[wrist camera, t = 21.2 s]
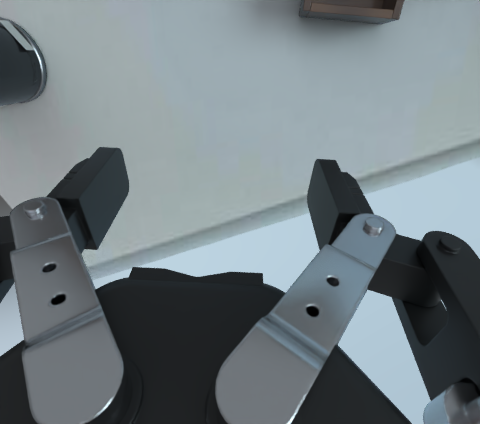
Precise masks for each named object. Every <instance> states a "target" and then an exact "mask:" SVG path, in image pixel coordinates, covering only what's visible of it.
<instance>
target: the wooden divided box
mask: <svg viewBox="0 0 480 424" xmlns="http://www.w3.org/2000/svg"><path fill="white" fill-rule="evenodd" d="M403 4H404V0H301V4H300V11H299V16H301V17H312V18H323V19H333V20H344V21H355V22H366V23H376V24H384V23H388V22H391V21H395V20H399V17H400V14H401V10H402V7H403Z"/></svg>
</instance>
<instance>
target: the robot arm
mask: <svg viewBox="0 0 480 424" xmlns="http://www.w3.org/2000/svg"><path fill="white" fill-rule="evenodd" d="M46 78H47V73H46V66H45V62H44V59H43V56H42V54H41V52H40V50H39V48H38V46H37V44H36V43H35V41H34V40H33V39H32V38H31V36H30V35H29V34H28V33H27V32H26V31H25V30H24V29H22V28H21V27H20V26H19V25H17V24H16V23H14V22H12V21H10V20H8V19H5V18H1V17H0V106H3V105H9V104H14V103H24V102H29V101H32V100H34V99H36V98H37V97H38V96H40V94H41V93H42V92H43V90H44V88H45V84H46ZM128 192H129V180H128V175H127V171H126V167H125V162H124V158H123V154H122V151H121V149H120V148H107V147H99V148H98V149H97V150H96V152H95V153H94V154H93V155H92V156H91V157H90V158H87V159H85V160H83V161H81V162H79V163H78V164H76V165H75V166H74V167H73V168H72V169H71V170H70V171H69V173H68V174H67V175H66V176H65V177H64V179H62V180H61V181H60V182H59V183H58V185H57V186H56V187H55V188H54V189H53V190H52V191H51V192H50V193H49V194H48V195H47V197H39V198H34V199H30V200H27V201H25V202H23V203H21V204H19V205H17V206H16V207H15V208H14V209H13V210H12V211H11V213H10V216H4V217H0V303H1V301H2V299H3V298H4V297H5V295H6V293H7V292H8V291H9V289H10V288H11V286H12V285H13V284H14V282H15V287H16V293H17V299H18V305H19V311H20V316H21V323H22V328H23V334H24V340H23V341H21V342H20V343H19V344H17V345H16V346H14V347H13V348H11V349H10V350H9V351H7V352H6V353H4V354H3V355H2V356H0V424H412V423H411V422H410V421H409V420H408V419H407V418H406V417H405V416H404V415H403V414H402V413H401V411H400V410H399V409H398V408H397V407H396V406H395V405H394V404H393V403H392V402H391V401H390V400H389V399H388V398H387V397H386V396H385V395H384V393H383V392H382V391H380V389H379V388H378V387H377V386H376V385H375V384H374V383H373V382H372V381H371V380H370V379H369V378H368V377H367V376H366V375H365V373H364V372H363V371H362V370H361V369H360V368H359V367H358V366H357V365H356V364H355V363H354V362H353V361H352V360H351V359H350V358H349V357H348V356H347V354H346V353H345V352H344V351H343V350H342V349H341V348H340V347H339V346H338V343H339V341H340V339H341V337H342V335H343V333H344V332H345V330H346V328H347V326H348V324H349V322H350V320H351V319H352V317H353V315H354V313H355V311H356V310H357V308H358V306H359V304H360V302H361V300H362V298H363V297H364V295H365V293H366V291H367V289H368V290H371V291H374V292H377V293H380V294H384V295H387V296H390V297H392V299H393V302H394V305H395V307H396V310H397V313H398V315H399V318H400V320H401V323H402V326H403V328H404V331H405V334H406V336H407V339H408V342H409V344H410V347H411V349H412V352H413V355H414V357H415V360H416V363H417V365H418V368H419V371H420V373H421V376H422V378H423V381H424V384H425V386H426V389H427V391H428V394H429V397H430V400H431V402H430V403H428V404H427V406H426V407H425V410H424V414H423V421H424V424H480V259H479V258H478V256H477V255H476V254H475V252H474V251H473V250H472V249H471V247H470V246H469V245H468V244H467V243H466V242H464V241H463V240H461V239H460V238H458V237H456V236H454V235H452V234H449V233H446V232H441V231H431V232H428V233H426V234H425V236H424V237H423V239H422V241H420V240H416V239H412V238H409V237H405V236H401V235H398V234H396V230H395V228H394V226H393V225H392V224H391V223H390V222H389V221H387V220H386V219H384V218H382V217H380V216H377V215H374V213H373V211H372V209H371V207H370V206H369V204H368V202H367V200H366V198H365V196H364V195H363V192H362V191H361V189H360V187H359V185H358V183H357V181H356V179H354V178H353V177H352V176H351V175H349V174H348V173H347V172H341V170H340V168H339V166H338V164H337V162H336V160H326V159H317V160H316V161H315V164H314V168H313V172H312V176H311V180H310V185H309V189H308V195H307V203H308V208H309V211H310V215H311V219H312V223H313V227H314V230H315V234H316V238H317V241H318V246H319V249H320V251H319V253H318V254H317V255H316V256H315V258H314V259H313V260H312V261H311V262H310V264H309V265H308V266H307V268H306V269H305V270H304V271H303V273H302V274H301V275H300V276H299V277H298V279H297V280H296V281H295V282H294V283H293V285H292V286H291V287H290V288H289V290H288V291H287V292H286V293H285V292H283V291H281V290H279V289H277V288H276V287H273V286H270V285H268V284H264V283H263V274H262V273H245V272H244V273H243V272H227V273H221V274H214V275H208V276H203V277H194V276H190V275H186V274H183V273H179V272H175V271H171V270H168V269H161V268H140V267H133V268H132V271H131V273H130V276H129V277H128V278H123V279H119V280H116V281H113V282H110V283H108V284H106V285H104V286H101V287H100V288H98V289H95V287H94V284H93V282H92V279H91V277H90V274H89V272H88V269H87V267H86V265H85V262H84V260H83V257H82V255H81V254H82V252H83V250H84V249H93V250H97V249H98V248H99V246H100V244H101V242H102V240H103V239H104V237H105V235H106V233H107V231H108V229H109V228H110V226H111V224H112V222H113V220H114V219H115V217H116V215H117V213H118V211H119V210H120V208H121V206H122V204H123V202H124V200H125V199H126V197H127V195H128ZM441 299H442V301H443V303H444V305H445V307H446V309H445V307H444V305H443V303H442V302H441ZM446 310H447V311H446Z"/></svg>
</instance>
